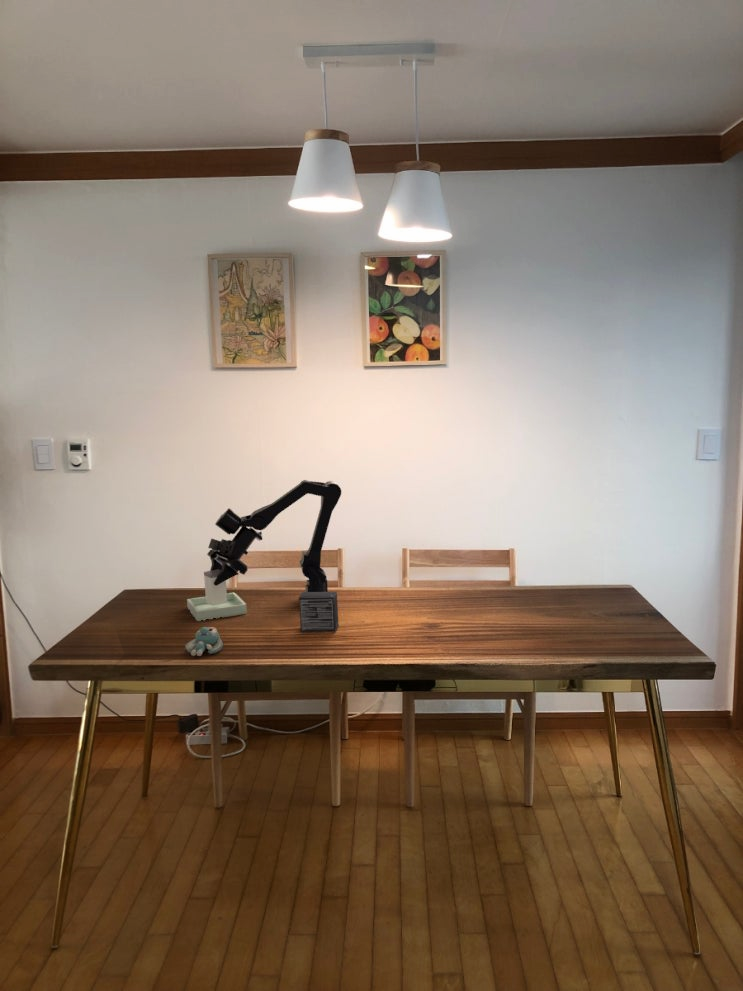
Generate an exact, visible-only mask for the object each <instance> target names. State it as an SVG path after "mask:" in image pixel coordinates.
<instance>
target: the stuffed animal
mask: <svg viewBox="0 0 743 991" xmlns="http://www.w3.org/2000/svg"><path fill="white" fill-rule="evenodd" d="M194 636H195V638H194V639H192V640H190V641H188V642H187V643H185V645H184V648H185V650H186V651H187V652H188V653H189V654H190V655H191V656H192V657H195V656H197V657H201V656H202V655H203V653H204V652H205V651H206V650H207V653H208V654H209V655H211V654H216V653H218V652H219V651H221V650H222V648H223V646H224V645H223V644H224V643H223V641H222V639H221V637H220V634H219V632H218V630H217V628H216V627H214V626H209V627H207V626H203V627H201V628H200V629H199V630H197V631H196V633H195V635H194Z"/></svg>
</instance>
